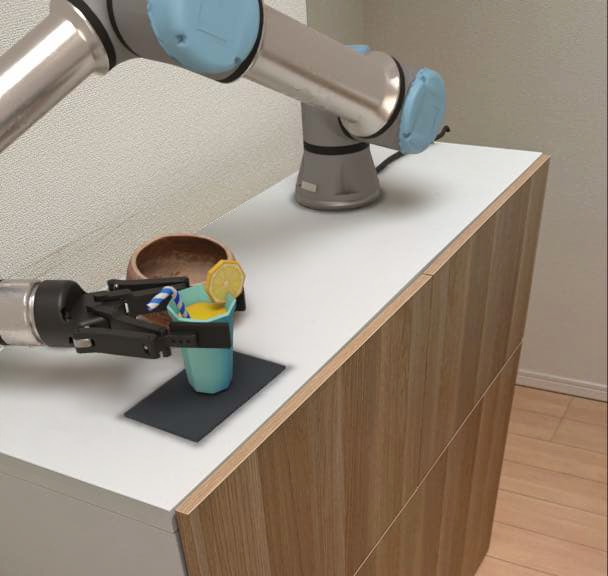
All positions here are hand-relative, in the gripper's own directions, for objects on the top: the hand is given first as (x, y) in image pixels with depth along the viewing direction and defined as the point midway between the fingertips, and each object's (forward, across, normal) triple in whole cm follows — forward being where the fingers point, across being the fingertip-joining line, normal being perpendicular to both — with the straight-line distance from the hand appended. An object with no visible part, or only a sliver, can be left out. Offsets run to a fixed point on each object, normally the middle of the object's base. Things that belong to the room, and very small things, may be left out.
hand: (237, 316), depth 86 cm
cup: (-5, 0, -9) cm, 10 cm away
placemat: (-5, 0, -10) cm, 11 cm away
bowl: (-11, -18, -10) cm, 24 cm away
